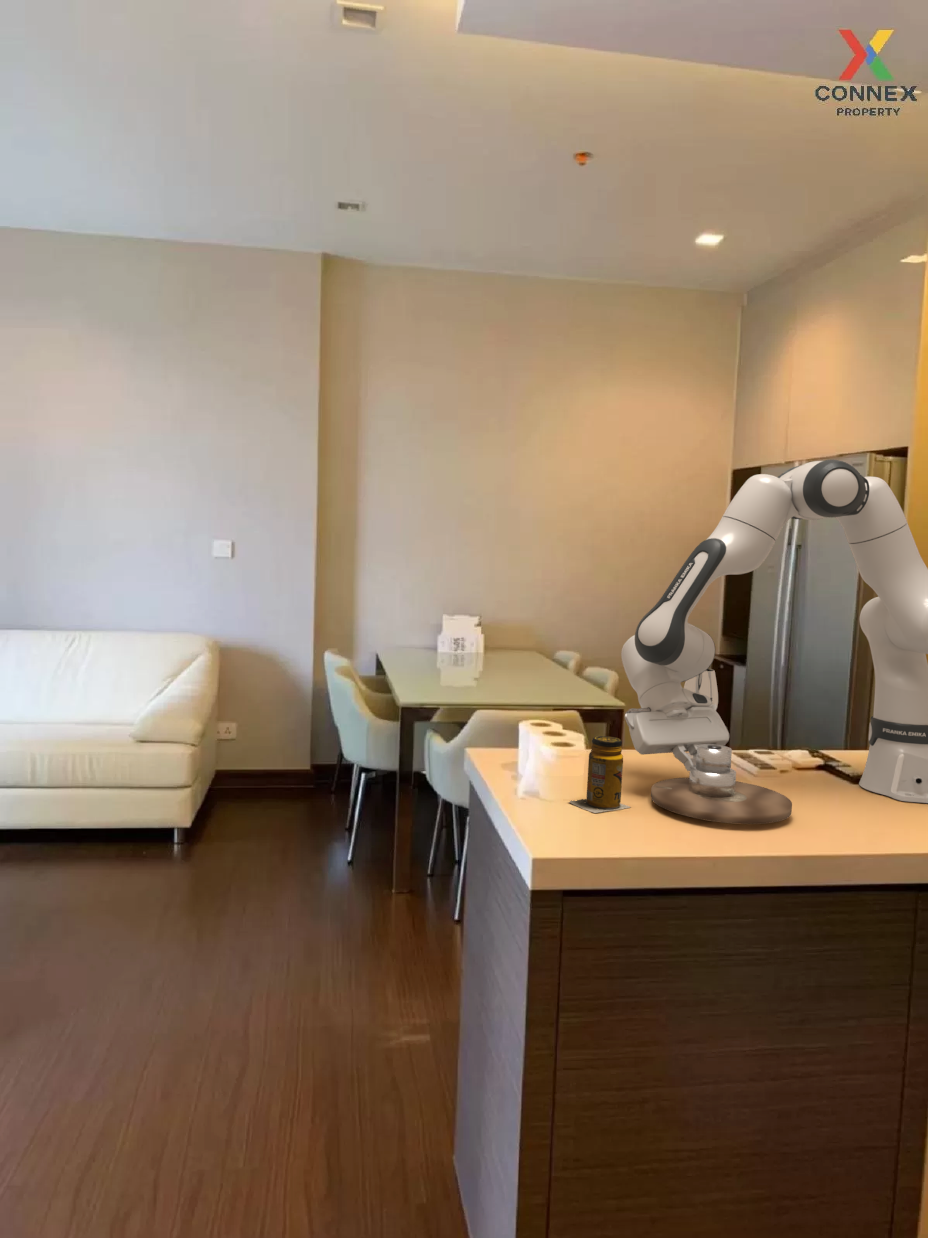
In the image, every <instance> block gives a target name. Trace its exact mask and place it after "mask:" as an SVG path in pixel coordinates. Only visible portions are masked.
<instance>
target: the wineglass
mask: <svg viewBox="0 0 928 1238" xmlns="http://www.w3.org/2000/svg"><path fill="white" fill-rule="evenodd" d="M684 682H685V683H684V685H683V688H684V689H687V690H689V691H692V692H695V693H698V694H702V695H706V696H708V697H709V698H710V700H711V702H712V704H711V706H710V707H711V708H713V709H714V710H715V711H716V712H717V709H718V704H719V692H718V690H719V689H718V685H717V684H718V683H717V677H716V672H715V670H714V669H712V668H708V669H707V670H706V671H704V672H703V673H701V674H699V675H697V676H695V677H693V678H691V679H689V680H687V681H684ZM685 753H686V754H687V755H688V756H689V757H690V758H691V759H692V758H693V755H690V753H689V752H685Z"/></svg>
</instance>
